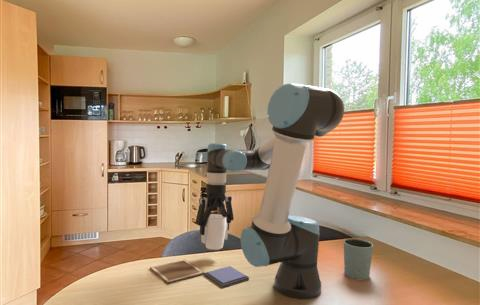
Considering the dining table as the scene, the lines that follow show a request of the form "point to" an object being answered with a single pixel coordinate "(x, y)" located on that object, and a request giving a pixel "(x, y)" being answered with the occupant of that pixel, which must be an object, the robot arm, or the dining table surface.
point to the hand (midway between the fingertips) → (214, 240)
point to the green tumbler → (357, 258)
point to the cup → (215, 231)
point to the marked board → (176, 271)
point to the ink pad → (226, 276)
